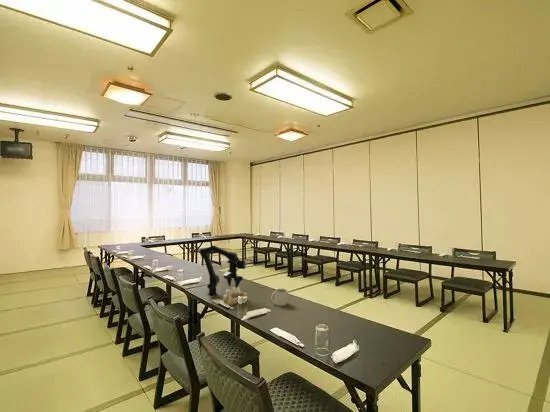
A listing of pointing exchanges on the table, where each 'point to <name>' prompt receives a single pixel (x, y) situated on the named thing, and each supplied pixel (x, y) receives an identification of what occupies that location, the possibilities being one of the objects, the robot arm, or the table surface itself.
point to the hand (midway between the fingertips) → (232, 287)
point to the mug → (280, 297)
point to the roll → (232, 291)
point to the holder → (233, 298)
